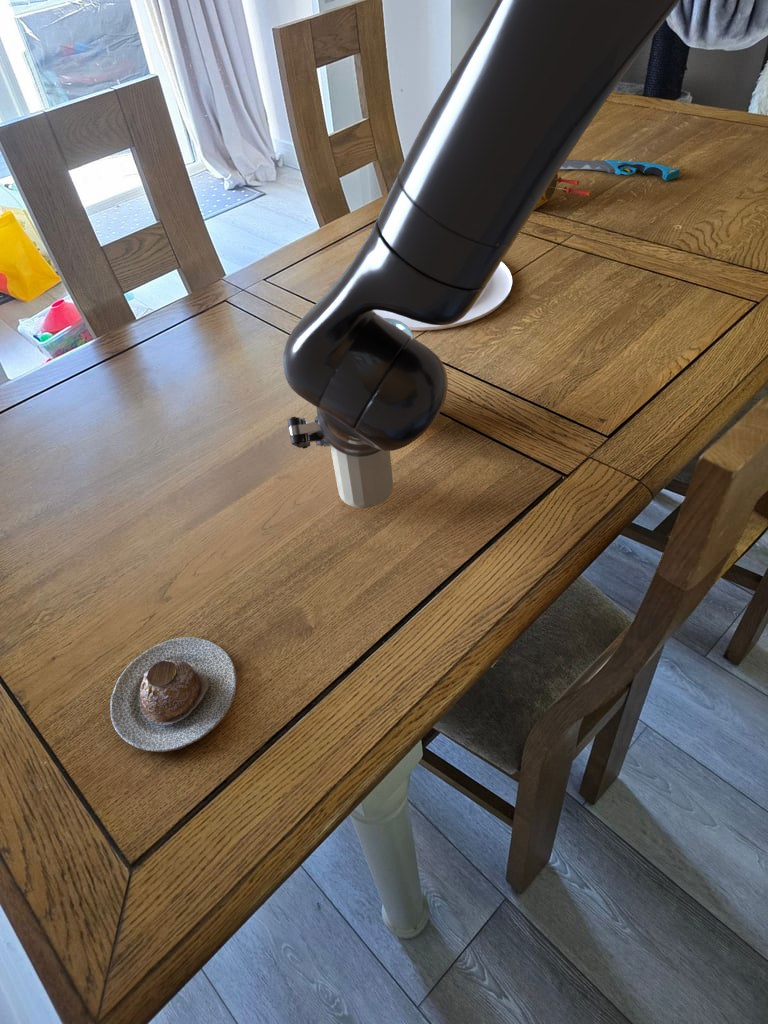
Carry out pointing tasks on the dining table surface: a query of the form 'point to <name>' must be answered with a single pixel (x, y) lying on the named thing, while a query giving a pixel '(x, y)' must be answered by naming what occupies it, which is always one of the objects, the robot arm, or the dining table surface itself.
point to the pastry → (173, 694)
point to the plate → (483, 306)
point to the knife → (623, 167)
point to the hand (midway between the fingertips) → (356, 431)
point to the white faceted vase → (363, 478)
